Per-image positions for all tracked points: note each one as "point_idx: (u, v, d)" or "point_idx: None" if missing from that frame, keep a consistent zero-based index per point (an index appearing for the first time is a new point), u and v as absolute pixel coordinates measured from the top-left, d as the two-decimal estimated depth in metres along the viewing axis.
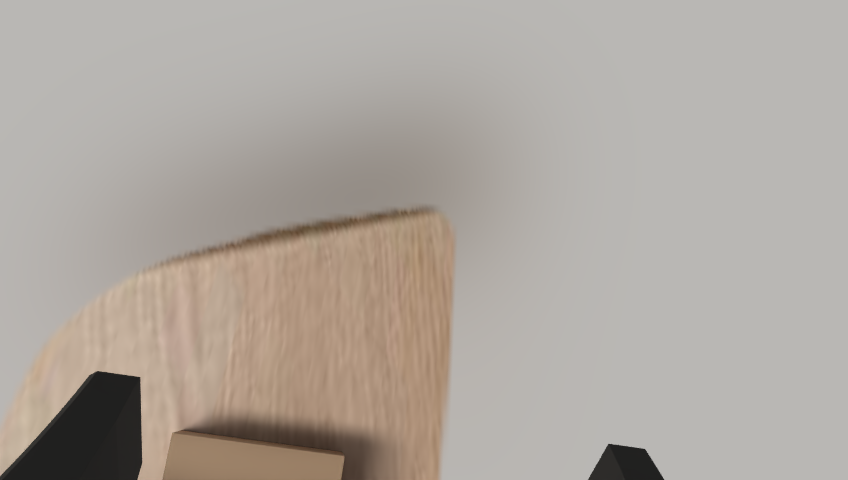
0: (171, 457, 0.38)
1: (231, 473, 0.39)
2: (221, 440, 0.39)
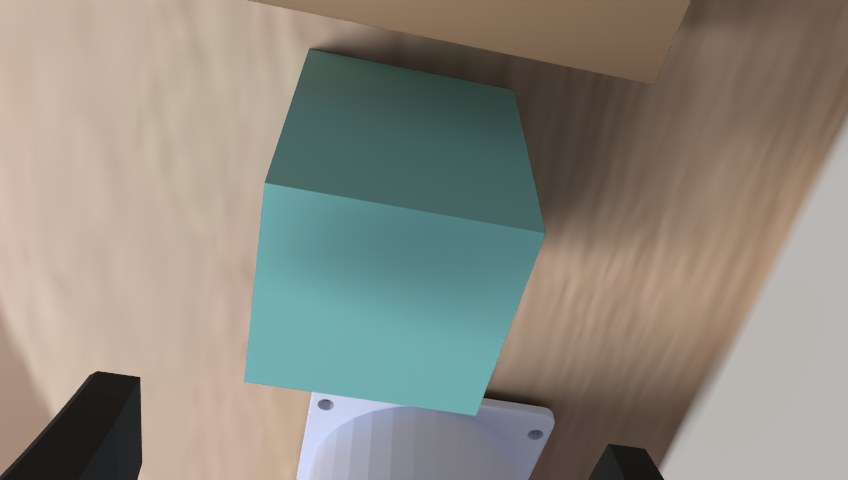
0: None
1: None
2: None
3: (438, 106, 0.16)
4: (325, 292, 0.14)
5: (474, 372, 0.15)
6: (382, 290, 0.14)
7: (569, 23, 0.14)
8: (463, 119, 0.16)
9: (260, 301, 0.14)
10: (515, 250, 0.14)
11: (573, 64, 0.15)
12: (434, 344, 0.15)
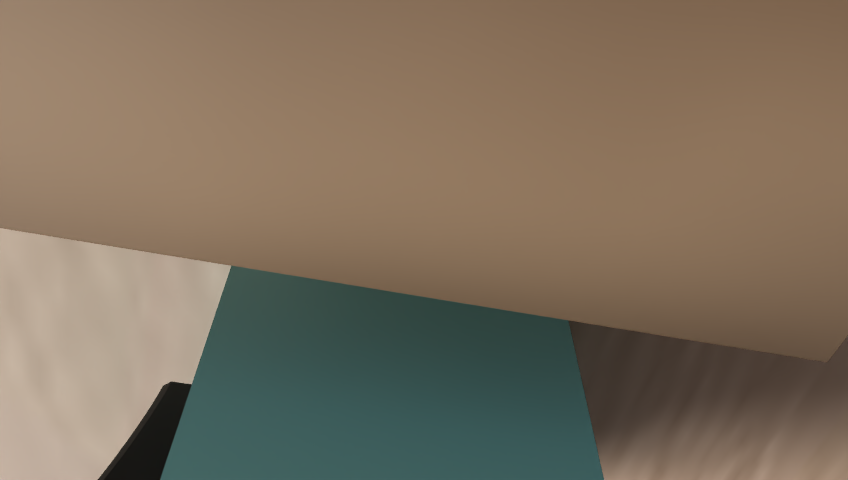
0: None
1: None
2: None
3: (445, 352, 0.10)
4: None
5: None
6: None
7: (688, 277, 0.08)
8: (486, 381, 0.10)
9: None
10: None
11: (686, 330, 0.08)
12: None
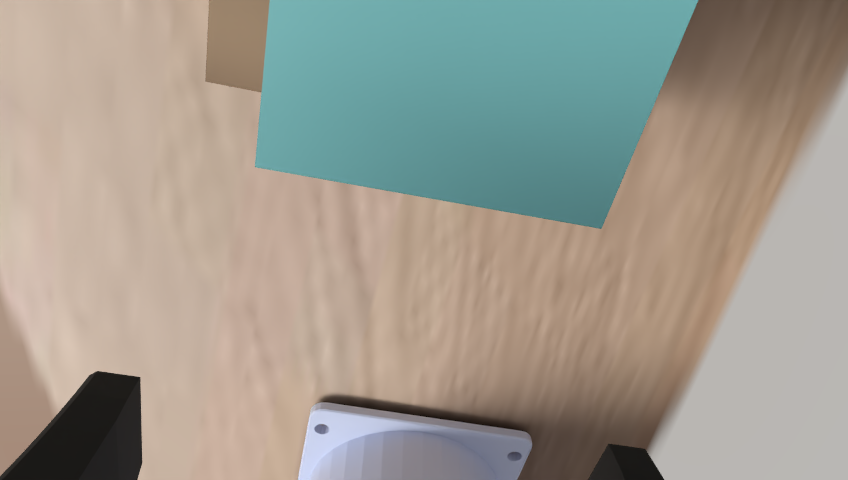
0: None
1: None
2: None
3: None
4: None
5: (608, 147, 0.10)
6: None
7: None
8: None
9: (282, 4, 0.09)
10: None
11: None
12: (553, 91, 0.10)
